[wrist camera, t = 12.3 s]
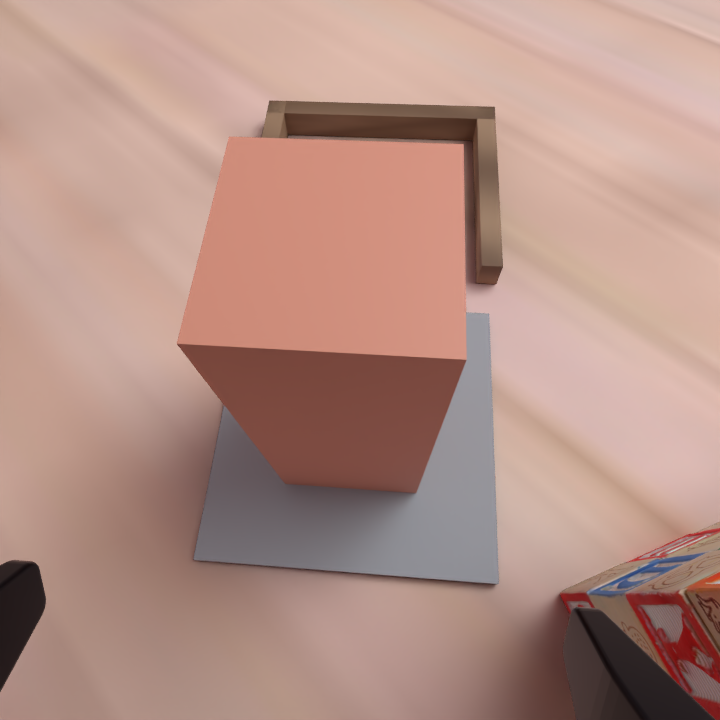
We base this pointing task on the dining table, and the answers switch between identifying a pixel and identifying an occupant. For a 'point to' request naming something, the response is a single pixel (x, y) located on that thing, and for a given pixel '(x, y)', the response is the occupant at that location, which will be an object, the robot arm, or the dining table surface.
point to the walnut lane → (414, 125)
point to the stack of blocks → (668, 609)
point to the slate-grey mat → (368, 501)
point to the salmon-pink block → (334, 304)
